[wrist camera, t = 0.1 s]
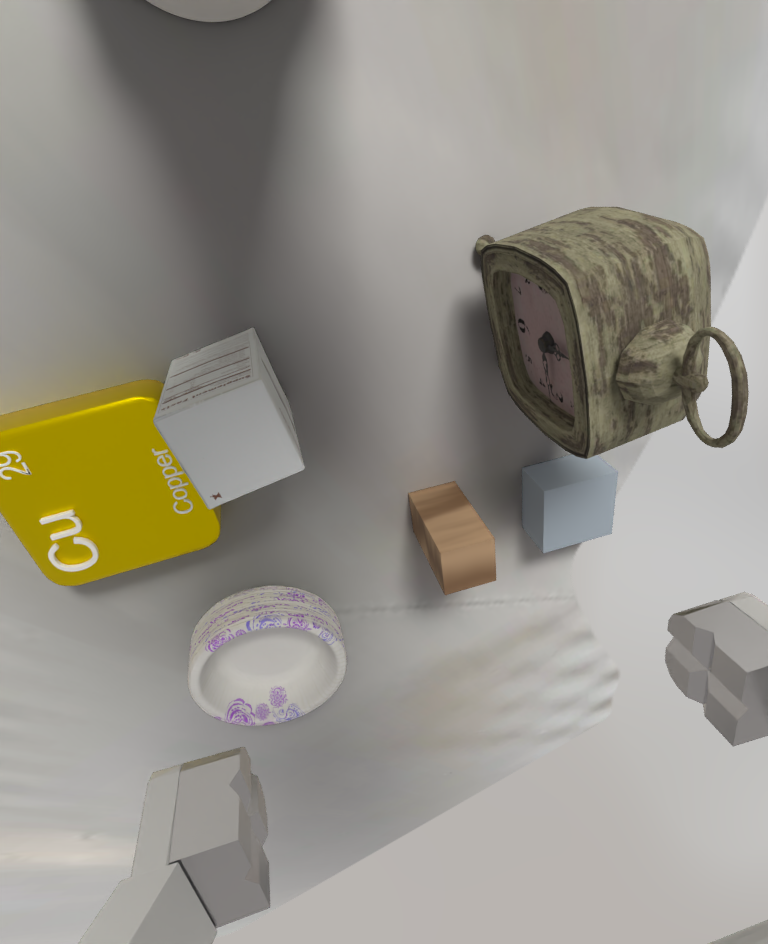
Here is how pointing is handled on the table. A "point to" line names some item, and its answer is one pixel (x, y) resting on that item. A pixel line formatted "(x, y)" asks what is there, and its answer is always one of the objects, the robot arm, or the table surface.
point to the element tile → (98, 486)
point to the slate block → (568, 501)
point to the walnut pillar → (453, 537)
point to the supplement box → (228, 419)
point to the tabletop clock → (606, 327)
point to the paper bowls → (266, 656)
